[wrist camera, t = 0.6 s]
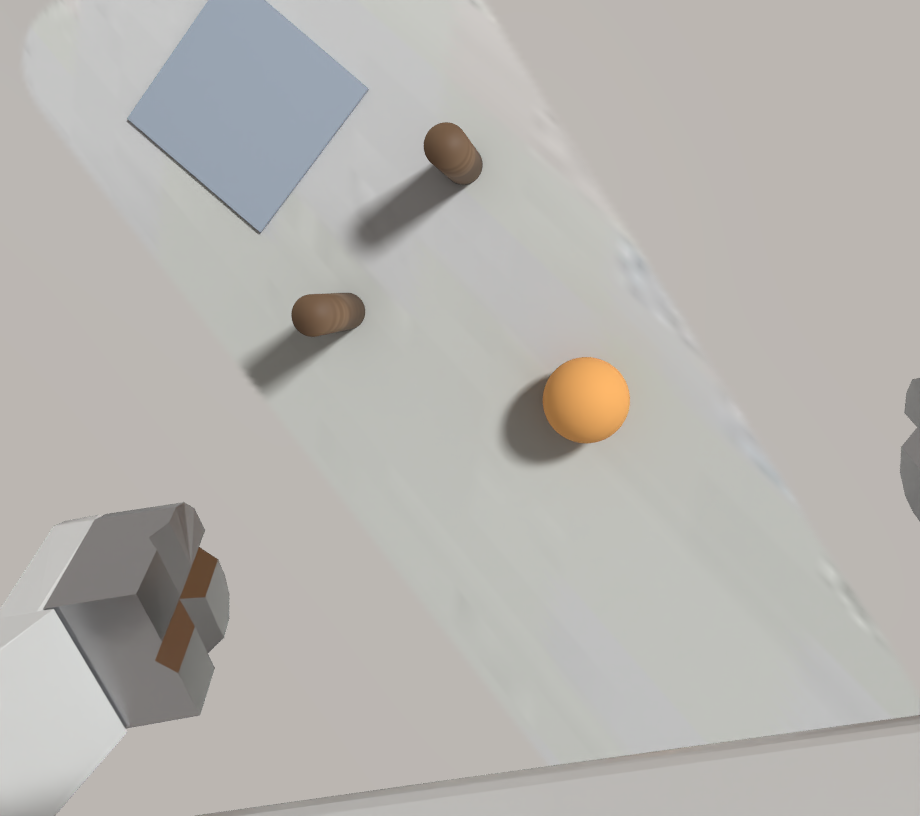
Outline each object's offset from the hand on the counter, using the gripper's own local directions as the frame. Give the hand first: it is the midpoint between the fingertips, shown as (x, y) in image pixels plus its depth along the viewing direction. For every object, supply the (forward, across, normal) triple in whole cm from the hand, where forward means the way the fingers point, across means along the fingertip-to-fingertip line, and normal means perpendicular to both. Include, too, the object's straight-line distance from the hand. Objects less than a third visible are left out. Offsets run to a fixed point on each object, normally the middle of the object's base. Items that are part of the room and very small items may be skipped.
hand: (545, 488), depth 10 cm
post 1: (+45, -11, -16) cm, 49 cm away
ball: (+38, +4, -22) cm, 45 cm away
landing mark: (+51, -15, -2) cm, 54 cm away
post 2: (+48, -2, -8) cm, 48 cm away
